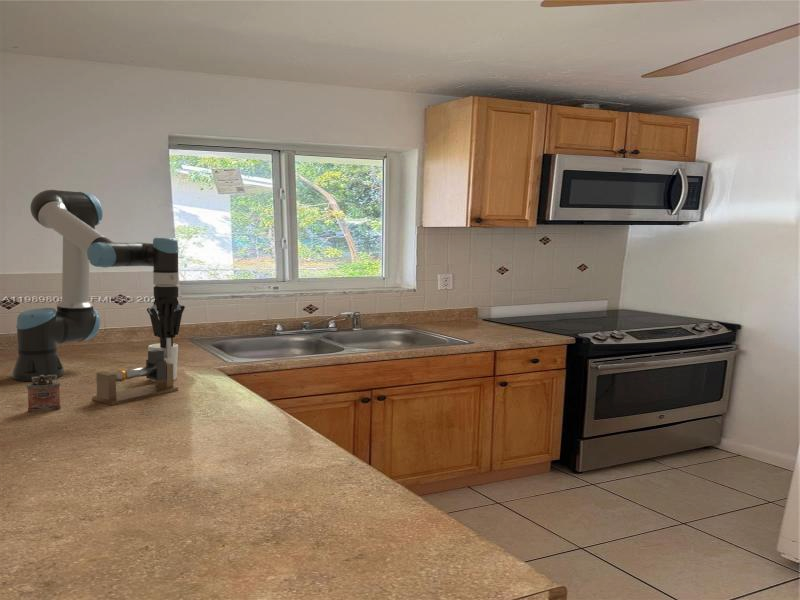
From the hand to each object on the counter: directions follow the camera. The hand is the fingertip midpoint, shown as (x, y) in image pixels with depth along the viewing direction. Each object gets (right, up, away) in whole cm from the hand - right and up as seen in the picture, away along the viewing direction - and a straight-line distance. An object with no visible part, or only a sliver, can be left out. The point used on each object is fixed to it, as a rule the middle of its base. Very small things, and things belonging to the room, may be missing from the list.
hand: (166, 357), depth 198 cm
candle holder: (-6, -9, +14) cm, 18 cm away
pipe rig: (-6, -11, -8) cm, 15 cm away
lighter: (-24, -13, -27) cm, 38 cm away
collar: (-2, -7, -3) cm, 8 cm away
